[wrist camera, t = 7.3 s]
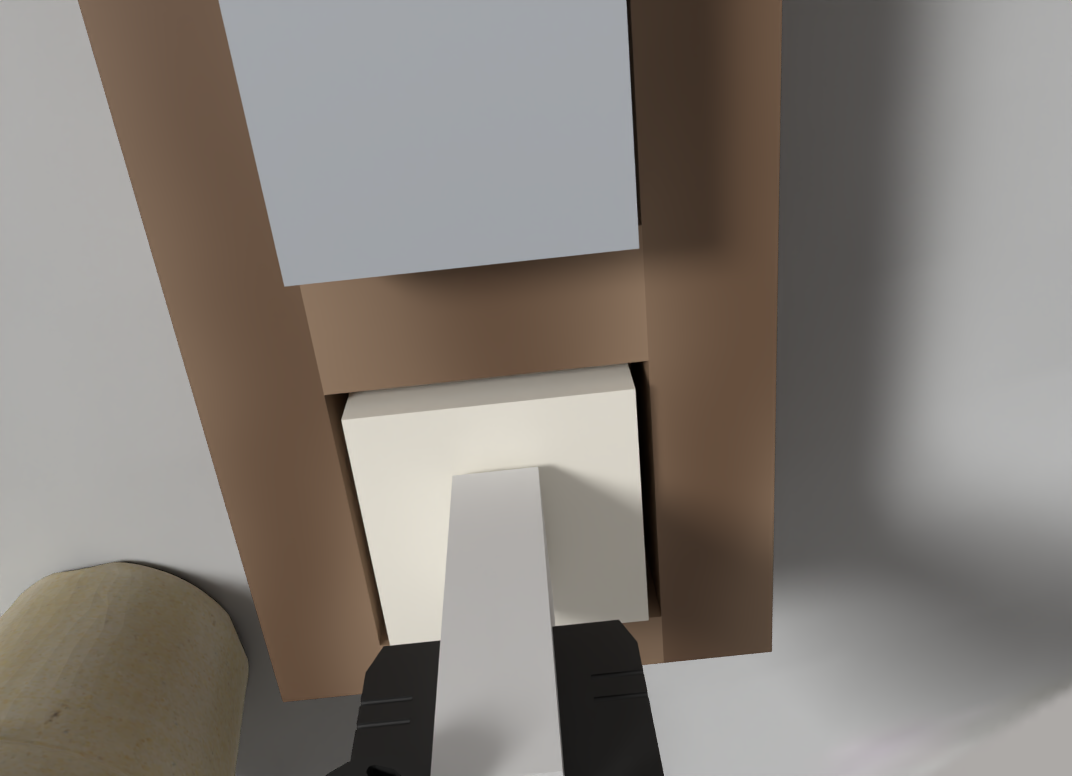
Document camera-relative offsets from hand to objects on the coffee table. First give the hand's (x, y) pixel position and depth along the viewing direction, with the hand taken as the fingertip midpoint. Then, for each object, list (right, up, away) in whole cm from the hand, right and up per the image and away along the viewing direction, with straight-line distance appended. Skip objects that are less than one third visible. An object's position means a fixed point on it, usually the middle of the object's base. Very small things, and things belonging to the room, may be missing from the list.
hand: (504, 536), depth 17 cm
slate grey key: (-1, +8, -3) cm, 8 cm away
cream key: (0, +1, +2) cm, 3 cm away
